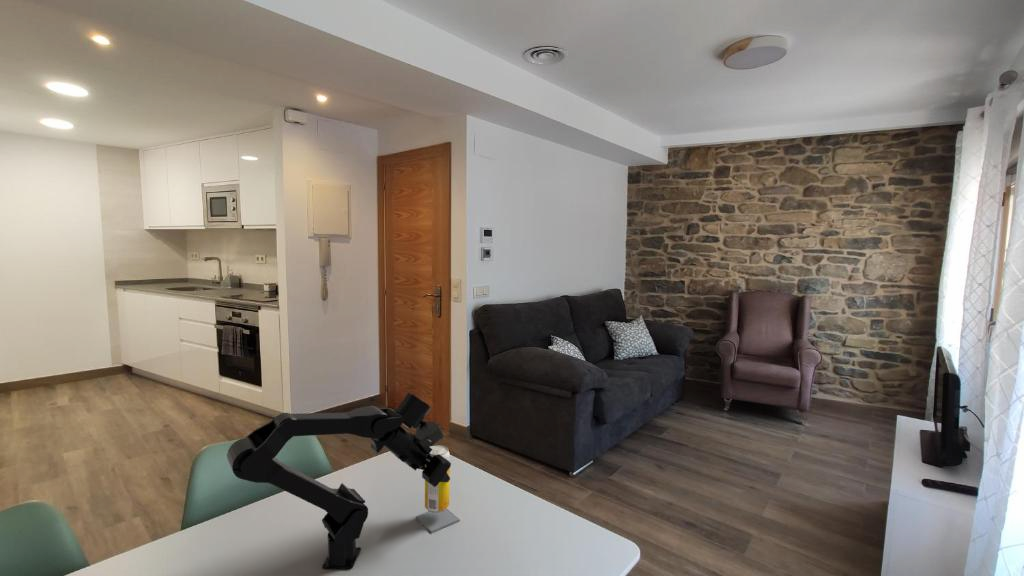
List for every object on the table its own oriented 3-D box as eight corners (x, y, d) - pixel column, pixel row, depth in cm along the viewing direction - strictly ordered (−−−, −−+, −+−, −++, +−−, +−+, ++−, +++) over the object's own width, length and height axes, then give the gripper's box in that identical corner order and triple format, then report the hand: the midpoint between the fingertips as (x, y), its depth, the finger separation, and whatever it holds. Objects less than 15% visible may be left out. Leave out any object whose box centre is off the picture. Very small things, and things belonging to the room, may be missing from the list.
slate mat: (431, 533, 112) (431, 531, 112) (415, 518, 118) (415, 516, 118) (459, 521, 117) (459, 519, 117) (443, 507, 123) (443, 505, 123)
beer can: (451, 501, 120) (452, 445, 118) (446, 515, 114) (446, 456, 112) (428, 500, 120) (428, 444, 119) (421, 513, 114) (422, 454, 113)
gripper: (443, 426, 105) (482, 460, 113) (405, 404, 120) (442, 435, 127) (412, 470, 101) (454, 502, 109) (376, 441, 115) (416, 471, 123)
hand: (442, 475), depth 117 cm, fingers closed on beer can, 6 cm apart
